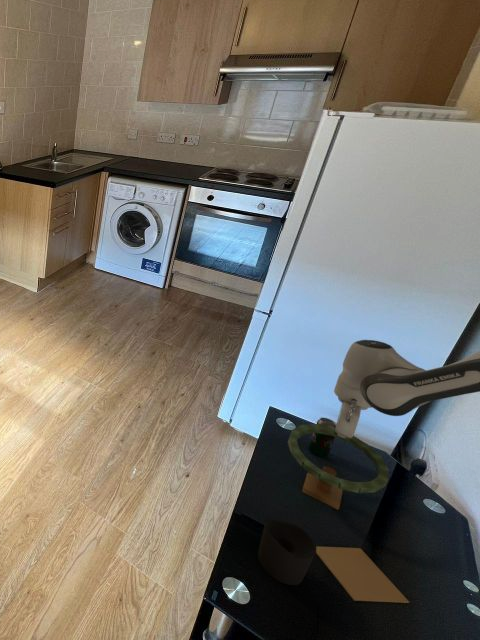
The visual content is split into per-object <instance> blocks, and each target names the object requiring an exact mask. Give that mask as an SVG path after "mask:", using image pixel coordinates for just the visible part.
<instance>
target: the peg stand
mask: <svg viewBox="0 0 480 640" xmlns="http://www.w3.org/2000/svg"><path fill="white" fill-rule="evenodd" d="M321 470H322V471H324V472H327V473H329V474H331V475H333V476H335V477H337V472H336V470H335V469H334V468H331V467H330V466H325V465H324V466H323V467H322V468H321ZM343 491H344V490H343V489H339V487H338V488H336V487H334V486H332V485H330V484H328V483H326V482H324V481H322V480H319V478H316V477H315V476H314V475H312V474H311V473H310V472H307V473H306V477H305V479H304V483H303V486H302V490H301V492H302V493H304V494H306V495H307V496H310V497H312V498H314V499H315V500H317V501H319V502H321V503H324V504H326V505H327V506H329V507H332V508H334V509H336V510H338V511H339V509H340V507H341V502H342V497H343Z"/></svg>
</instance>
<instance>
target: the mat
mask: <svg viewBox="0 0 480 640" xmlns="http://www.w3.org/2000/svg"><path fill="white" fill-rule="evenodd" d="M315 555H317V556H318V558H319V559H320V560H321V561H322V562H323V564H324V565H325V566H326V567H327V569H328V570H329V571H330V573H331V574H332V575H333V576H334V578H335V579H336V580H337V582H339V584H340V586H342V588H343V589H344V590H345V591H346V592H347V594H348V595H349V596H350V597H351V599H352V600H353V601H355V602H376V603H377V602H379V603H399V604H400V603H403V604H409V603H410V601H409V600H408V599H407V598H406V597H405V595H404V594H403V593H402V592H401V591H400V590H399V589H398V588H397V586H395V584H393V582H392V581H391V580H390V579H389V578H388V577H387V576H386V575H385V574H384V573H383V571H382V570H381V569H380V568H379V567H378V566H377V565H376V564H375V562H373V560H372V559H371V558H370V557H369V556H368V555H367V554H366V553H365V551H364V550H363V549H362V548H361V547H339V546H317V545H316V553H315Z"/></svg>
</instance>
